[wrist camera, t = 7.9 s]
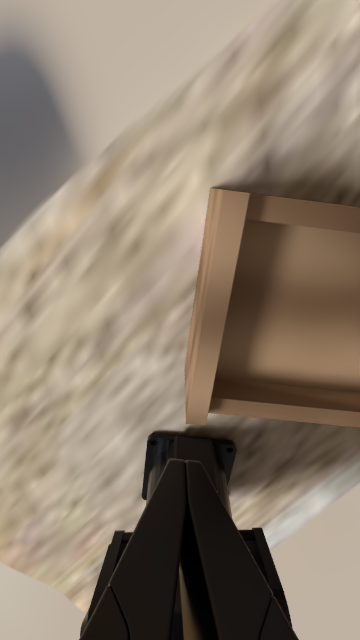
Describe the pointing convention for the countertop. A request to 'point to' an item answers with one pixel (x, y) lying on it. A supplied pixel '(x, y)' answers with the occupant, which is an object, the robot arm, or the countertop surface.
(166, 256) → the countertop surface
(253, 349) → the brown wooden drawer
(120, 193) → the countertop surface
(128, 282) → the countertop surface
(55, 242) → the countertop surface
